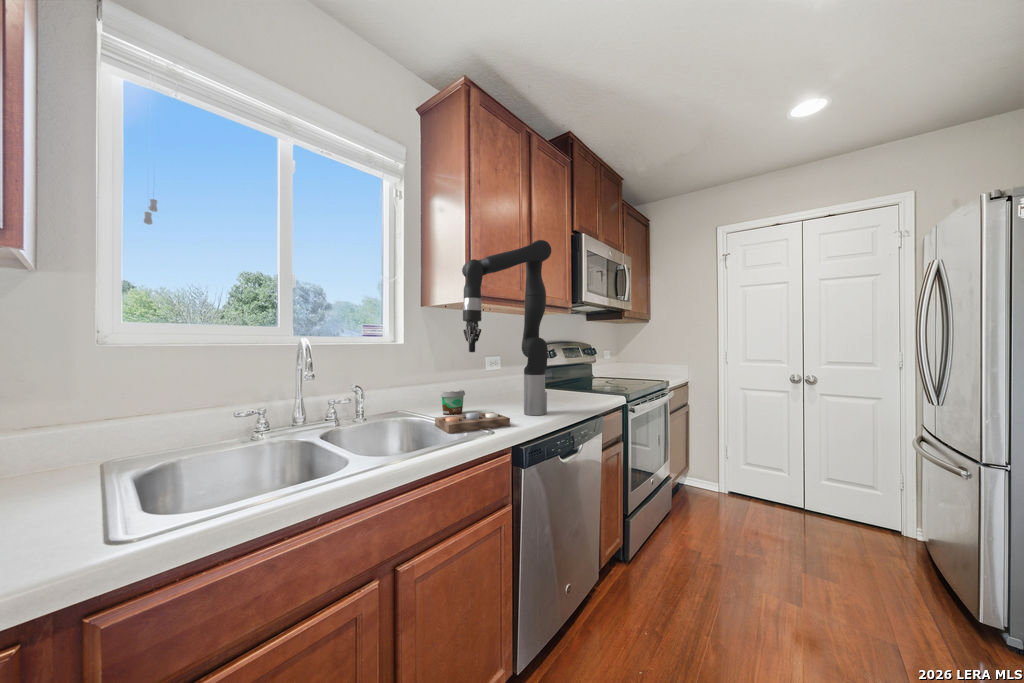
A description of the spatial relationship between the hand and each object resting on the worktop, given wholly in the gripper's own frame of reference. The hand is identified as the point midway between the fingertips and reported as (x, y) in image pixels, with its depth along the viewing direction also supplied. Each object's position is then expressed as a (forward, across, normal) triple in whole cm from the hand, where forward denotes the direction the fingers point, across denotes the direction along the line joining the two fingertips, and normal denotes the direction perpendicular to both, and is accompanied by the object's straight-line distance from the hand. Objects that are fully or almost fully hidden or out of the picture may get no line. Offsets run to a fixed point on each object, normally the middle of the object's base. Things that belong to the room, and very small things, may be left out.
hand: (471, 352), depth 156 cm
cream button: (+26, -13, -2) cm, 29 cm away
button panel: (+27, -13, +6) cm, 30 cm away
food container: (+27, +12, +2) cm, 30 cm away
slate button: (+26, -13, +6) cm, 29 cm away
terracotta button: (+26, -13, +13) cm, 32 cm away
